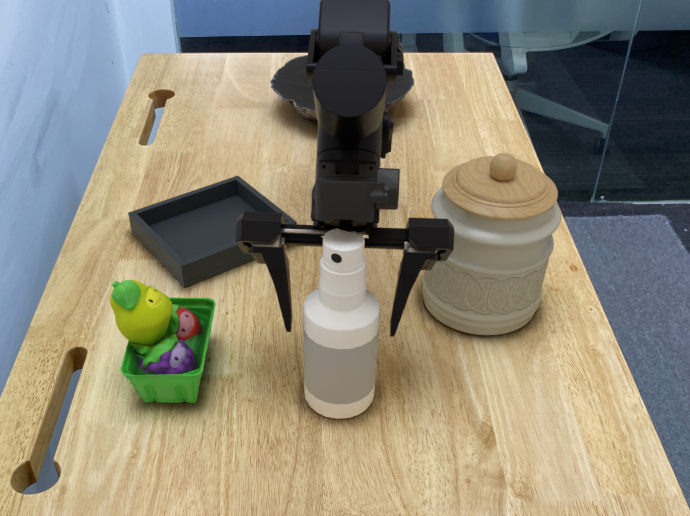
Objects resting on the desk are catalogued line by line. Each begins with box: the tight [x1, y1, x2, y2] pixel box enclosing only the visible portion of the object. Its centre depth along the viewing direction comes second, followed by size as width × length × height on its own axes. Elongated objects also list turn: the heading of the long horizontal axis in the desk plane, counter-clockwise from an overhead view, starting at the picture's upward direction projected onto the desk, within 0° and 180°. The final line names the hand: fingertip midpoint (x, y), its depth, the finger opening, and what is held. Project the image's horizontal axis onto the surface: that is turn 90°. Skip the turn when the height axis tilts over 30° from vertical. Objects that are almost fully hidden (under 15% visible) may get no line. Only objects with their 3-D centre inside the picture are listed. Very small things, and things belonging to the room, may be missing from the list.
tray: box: [127, 175, 298, 288], centre depth 94 cm, size 16×14×3 cm
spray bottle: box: [302, 228, 381, 420], centre depth 69 cm, size 7×7×18 cm
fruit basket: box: [109, 279, 217, 404], centre depth 74 cm, size 11×9×11 cm
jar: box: [421, 152, 562, 336], centre depth 80 cm, size 13×13×18 cm
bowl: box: [269, 54, 415, 122], centre depth 118 cm, size 22×22×5 cm
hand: (340, 334), depth 68 cm, fingers open, 9 cm apart
